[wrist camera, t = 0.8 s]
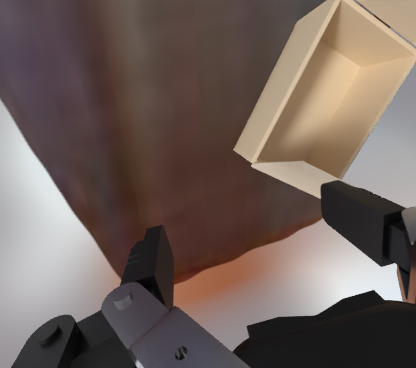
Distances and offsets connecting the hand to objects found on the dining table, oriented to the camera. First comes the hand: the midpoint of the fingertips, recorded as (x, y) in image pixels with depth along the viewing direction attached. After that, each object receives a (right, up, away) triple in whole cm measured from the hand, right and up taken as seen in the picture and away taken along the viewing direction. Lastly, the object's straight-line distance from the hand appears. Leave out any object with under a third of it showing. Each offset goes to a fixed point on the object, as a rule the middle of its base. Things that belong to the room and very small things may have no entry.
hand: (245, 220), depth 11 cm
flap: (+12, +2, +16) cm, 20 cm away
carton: (+14, +15, +29) cm, 35 cm away
